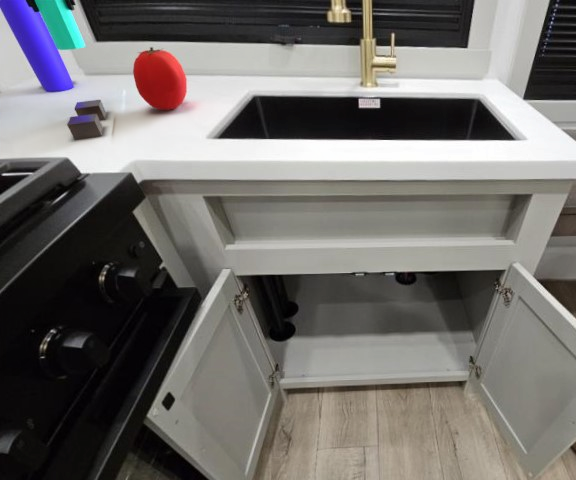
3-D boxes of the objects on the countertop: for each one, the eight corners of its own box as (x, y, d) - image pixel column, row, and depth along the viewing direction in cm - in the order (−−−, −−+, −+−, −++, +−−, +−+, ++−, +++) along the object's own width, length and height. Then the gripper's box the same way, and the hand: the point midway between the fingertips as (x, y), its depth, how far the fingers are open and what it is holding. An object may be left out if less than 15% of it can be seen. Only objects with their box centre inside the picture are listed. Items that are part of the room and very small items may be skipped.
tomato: (136, 109, 83) (113, 48, 74) (178, 98, 90) (162, 41, 81) (159, 119, 78) (137, 55, 69) (202, 106, 84) (188, 46, 76)
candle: (70, 44, 79) (40, -21, 71) (91, 45, 78) (64, -22, 70) (50, 49, 74) (16, -20, 66) (73, 50, 73) (41, -21, 65)
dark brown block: (83, 126, 75) (74, 108, 72) (85, 120, 78) (76, 102, 76) (106, 123, 76) (98, 105, 74) (108, 117, 80) (100, 99, 77)
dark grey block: (77, 144, 67) (66, 124, 65) (80, 136, 71) (70, 116, 68) (103, 140, 69) (94, 120, 66) (105, 132, 72) (96, 113, 69)
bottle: (39, 89, 99) (-35, -47, 79) (67, 83, 104) (4, -46, 84) (51, 93, 95) (-23, -48, 75) (80, 87, 100) (17, -47, 80)
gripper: (56, -109, 64) (99, 7, 76) (-51, -113, 59) (13, 11, 72) (49, -115, 59) (97, 10, 71) (-69, -121, 54) (4, 14, 67)
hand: (54, 9), depth 71 cm, fingers closed on candle, 6 cm apart
